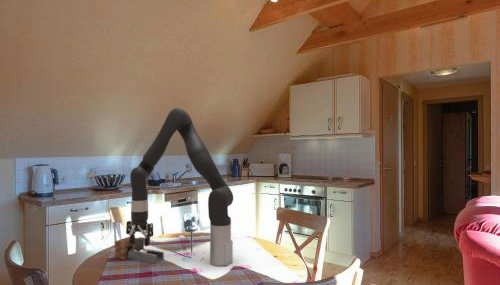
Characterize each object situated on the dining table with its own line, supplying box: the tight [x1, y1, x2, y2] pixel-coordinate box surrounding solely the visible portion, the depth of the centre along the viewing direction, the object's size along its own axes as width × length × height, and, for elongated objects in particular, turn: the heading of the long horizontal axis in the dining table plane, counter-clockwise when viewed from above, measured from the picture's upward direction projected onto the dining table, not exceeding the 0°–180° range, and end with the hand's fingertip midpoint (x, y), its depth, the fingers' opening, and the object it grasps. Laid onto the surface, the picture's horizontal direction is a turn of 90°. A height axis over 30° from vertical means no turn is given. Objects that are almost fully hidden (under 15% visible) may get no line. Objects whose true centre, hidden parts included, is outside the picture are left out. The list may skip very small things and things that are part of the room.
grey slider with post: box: [127, 236, 148, 254], centre depth 152 cm, size 13×3×8 cm, turn 66°
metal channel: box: [127, 248, 165, 265], centre depth 149 cm, size 16×6×4 cm, turn 66°
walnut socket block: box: [114, 236, 137, 260], centre depth 154 cm, size 5×8×8 cm, turn 156°
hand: (139, 244), depth 151 cm, fingers open, 8 cm apart
